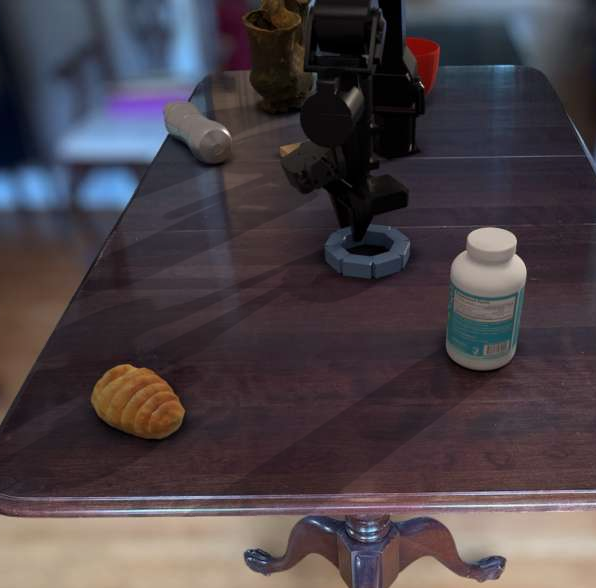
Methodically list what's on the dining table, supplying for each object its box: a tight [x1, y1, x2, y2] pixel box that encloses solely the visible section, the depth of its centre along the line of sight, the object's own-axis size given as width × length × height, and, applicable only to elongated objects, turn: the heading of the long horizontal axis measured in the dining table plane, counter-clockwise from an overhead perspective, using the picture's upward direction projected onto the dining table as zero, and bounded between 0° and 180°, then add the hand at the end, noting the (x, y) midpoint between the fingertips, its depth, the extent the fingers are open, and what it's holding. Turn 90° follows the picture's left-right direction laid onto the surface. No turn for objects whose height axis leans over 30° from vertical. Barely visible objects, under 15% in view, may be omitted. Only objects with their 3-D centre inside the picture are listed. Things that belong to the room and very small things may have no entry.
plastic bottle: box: [162, 100, 233, 165], centre depth 118 cm, size 6×7×20 cm
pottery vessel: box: [241, 0, 315, 114], centre depth 130 cm, size 25×11×20 cm, turn 175°
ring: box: [323, 223, 411, 280], centre depth 91 cm, size 10×10×2 cm
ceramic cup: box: [406, 36, 441, 104], centre depth 134 cm, size 13×17×10 cm
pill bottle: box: [445, 227, 527, 371], centre depth 72 cm, size 8×7×14 cm
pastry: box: [90, 363, 186, 440], centre depth 68 cm, size 9×7×4 cm
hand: (351, 236), depth 94 cm, fingers open, 3 cm apart
